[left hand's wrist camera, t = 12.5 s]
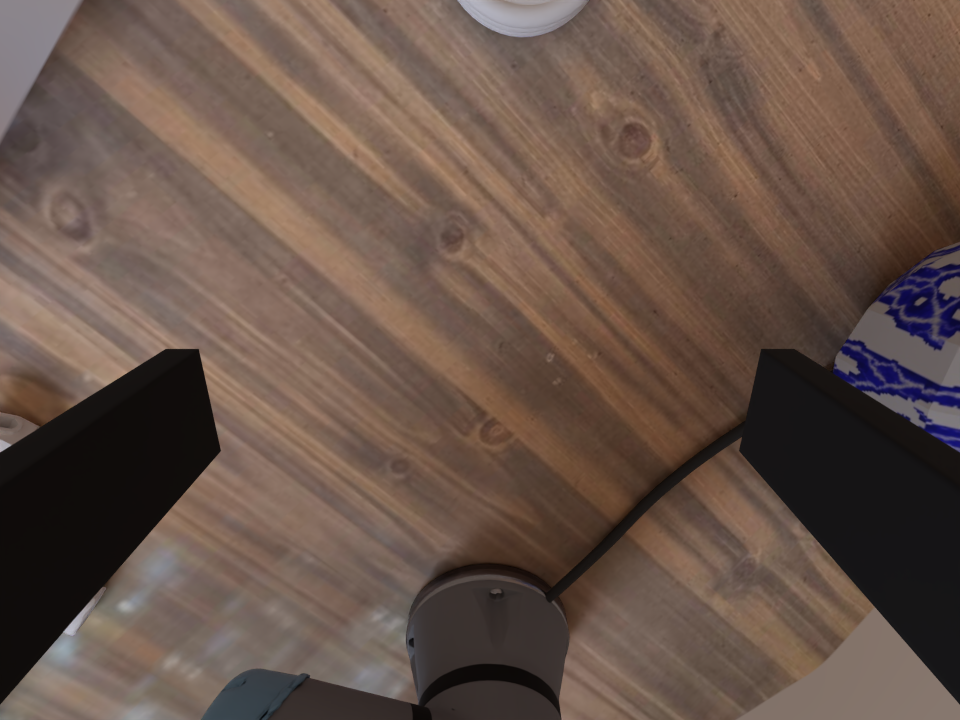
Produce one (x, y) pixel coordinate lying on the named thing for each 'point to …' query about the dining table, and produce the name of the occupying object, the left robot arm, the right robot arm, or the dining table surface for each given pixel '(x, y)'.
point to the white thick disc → (523, 15)
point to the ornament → (913, 346)
